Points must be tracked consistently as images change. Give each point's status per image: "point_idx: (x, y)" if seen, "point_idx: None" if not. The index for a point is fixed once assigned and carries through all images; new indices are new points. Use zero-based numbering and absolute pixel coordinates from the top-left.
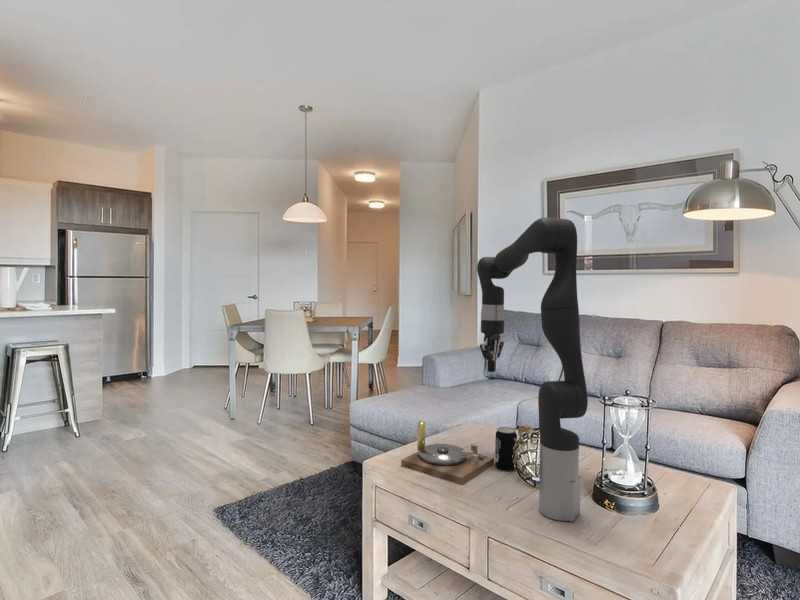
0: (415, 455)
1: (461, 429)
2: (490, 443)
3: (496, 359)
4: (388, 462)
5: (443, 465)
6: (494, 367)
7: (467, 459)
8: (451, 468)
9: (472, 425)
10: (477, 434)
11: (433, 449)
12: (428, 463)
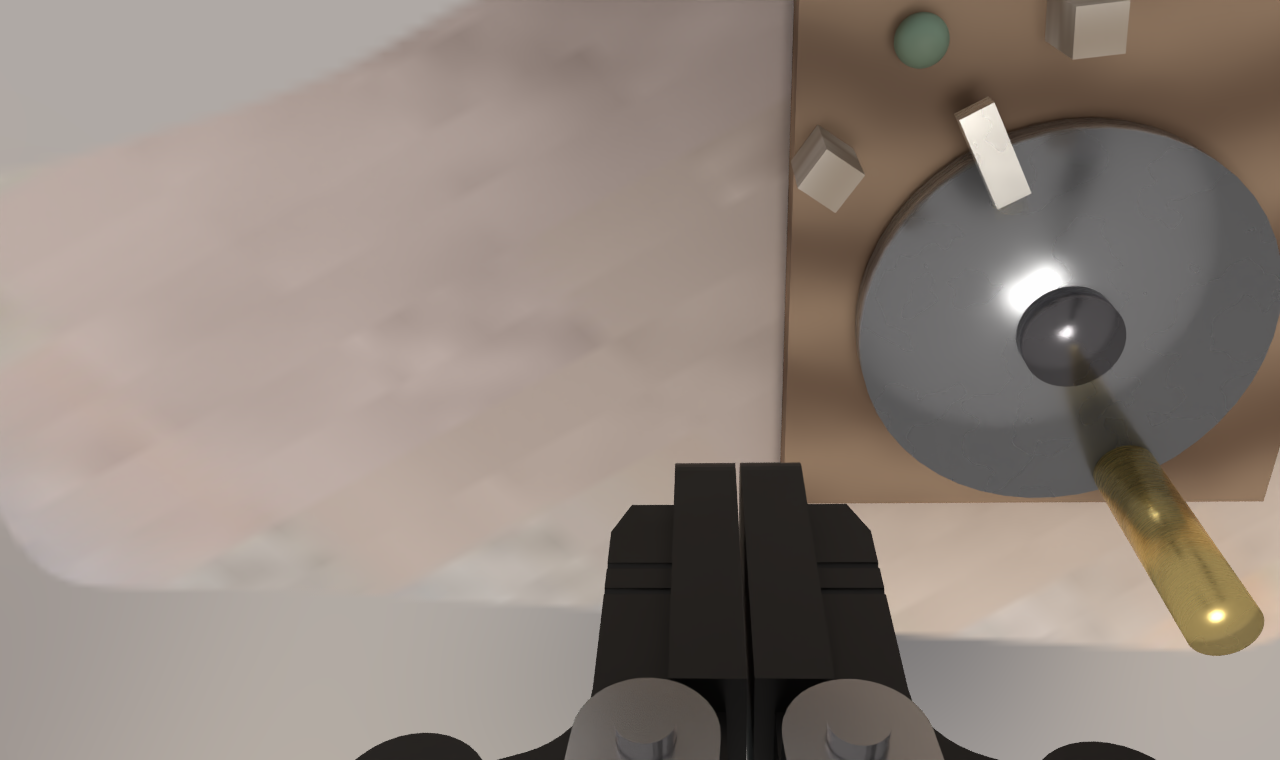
0: None
1: (254, 556)
2: (350, 231)
3: (631, 695)
4: None
5: None
6: (757, 524)
7: None
8: (1258, 126)
9: (97, 544)
10: (248, 416)
11: (1057, 411)
12: None
